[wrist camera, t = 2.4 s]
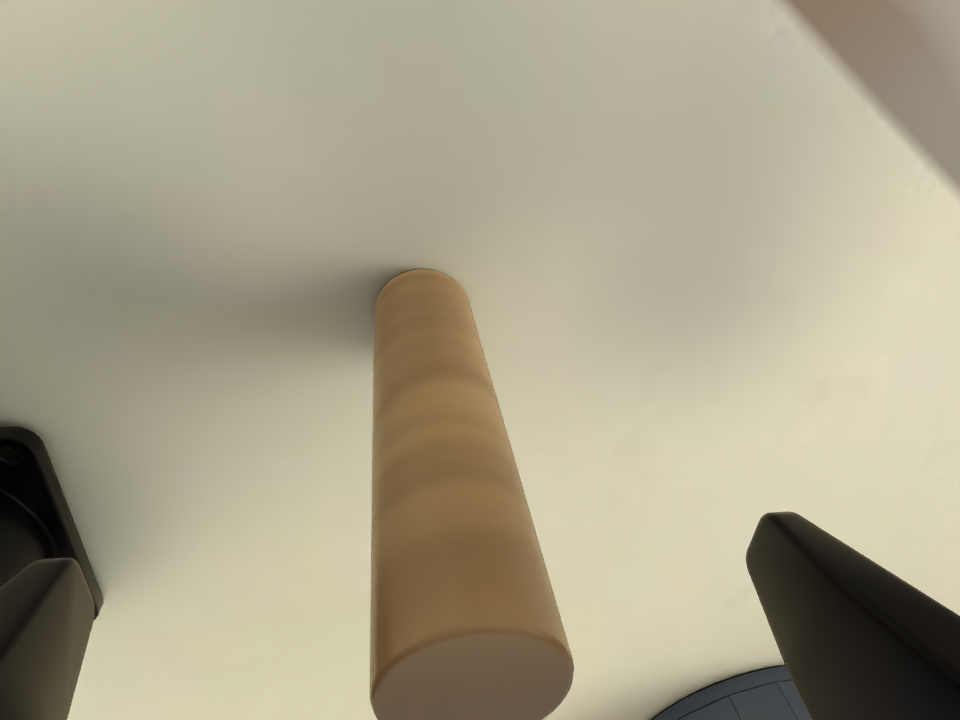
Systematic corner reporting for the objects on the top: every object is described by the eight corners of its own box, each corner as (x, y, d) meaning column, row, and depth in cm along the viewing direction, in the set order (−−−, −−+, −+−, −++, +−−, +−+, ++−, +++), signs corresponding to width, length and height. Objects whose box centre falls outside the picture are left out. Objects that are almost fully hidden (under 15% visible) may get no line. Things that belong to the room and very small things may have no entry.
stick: (372, 267, 13) (367, 639, 6) (472, 268, 14) (591, 620, 6) (375, 354, 14) (372, 760, 7) (467, 352, 15) (561, 738, 7)
